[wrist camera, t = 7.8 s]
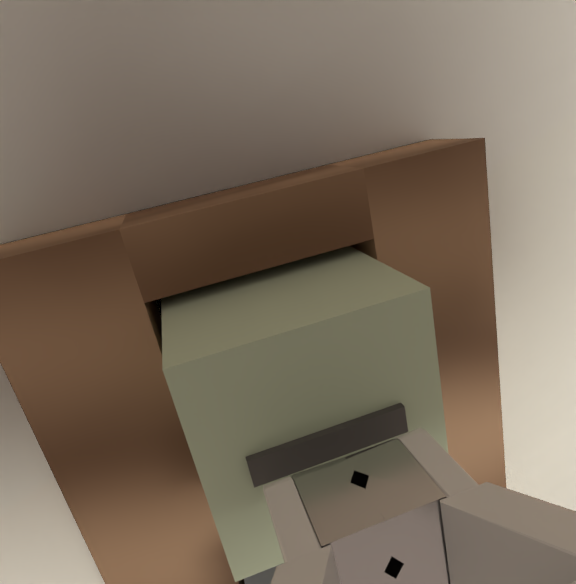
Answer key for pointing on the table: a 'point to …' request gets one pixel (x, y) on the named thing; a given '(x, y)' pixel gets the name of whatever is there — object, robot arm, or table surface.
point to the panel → (212, 269)
